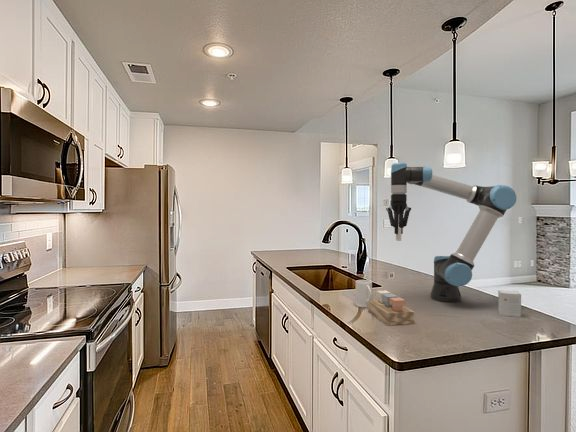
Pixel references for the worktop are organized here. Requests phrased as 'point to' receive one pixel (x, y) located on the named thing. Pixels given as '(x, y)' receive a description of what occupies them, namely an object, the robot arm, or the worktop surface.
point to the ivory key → (380, 295)
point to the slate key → (386, 299)
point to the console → (390, 314)
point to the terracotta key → (397, 304)
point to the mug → (363, 293)
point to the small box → (509, 303)
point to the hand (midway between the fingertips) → (398, 240)
